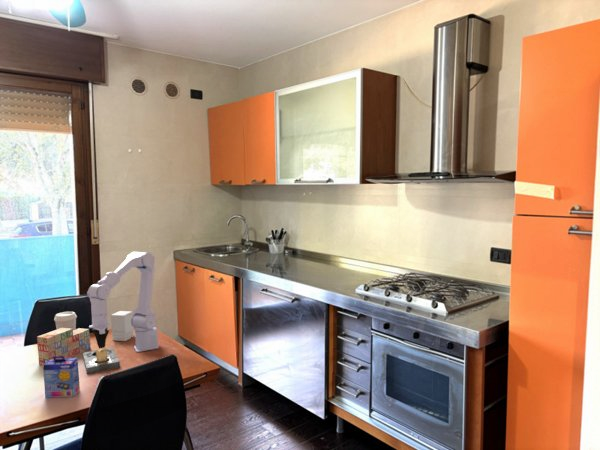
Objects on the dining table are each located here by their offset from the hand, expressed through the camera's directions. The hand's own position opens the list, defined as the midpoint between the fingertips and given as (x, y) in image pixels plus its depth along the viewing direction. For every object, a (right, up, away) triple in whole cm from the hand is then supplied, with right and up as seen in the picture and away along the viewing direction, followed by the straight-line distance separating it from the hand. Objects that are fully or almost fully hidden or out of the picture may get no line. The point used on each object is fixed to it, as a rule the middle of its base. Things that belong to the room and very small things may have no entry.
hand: (101, 346), depth 179 cm
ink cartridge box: (-3, -11, -23) cm, 26 cm away
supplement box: (-5, -6, +35) cm, 36 cm away
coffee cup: (-28, -7, +27) cm, 39 cm away
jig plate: (-2, -8, +5) cm, 10 cm away
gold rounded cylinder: (0, -8, +1) cm, 8 cm away
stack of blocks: (-21, -8, +13) cm, 26 cm away
